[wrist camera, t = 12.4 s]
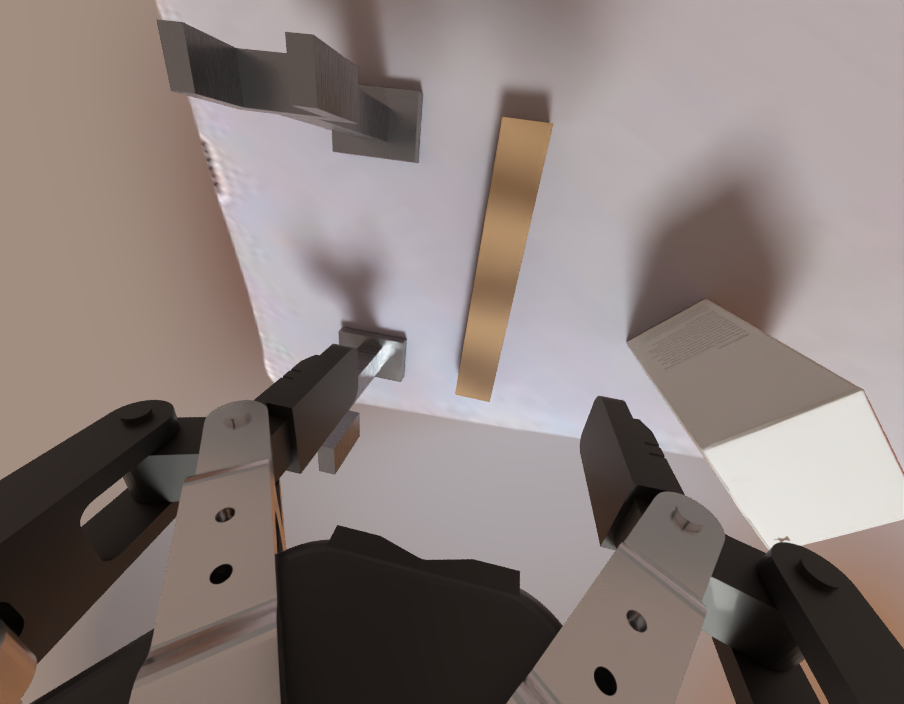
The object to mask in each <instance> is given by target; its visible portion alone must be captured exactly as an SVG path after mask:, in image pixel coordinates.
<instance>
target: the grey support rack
mask: <svg viewBox="0 0 904 704" xmlns="http://www.w3.org/2000/svg"><path fill="white" fill-rule="evenodd" d="M157 24H158V29H159V34H160V39H161V44H162V49H163V54H164V59H165V64H166V68H167V73H168V78H169V83H170V88H171V91H173V92H177V93H181V94H185V95H188V96H192V97H195V98H199V99H203V100H206V101H210V102H214V103H218V104H221V105H225V106H229V107H232V108H236V109H240V110H248V111H256V112H264V113H272V114H279V115H282V116H285V117H289V118H292V119H296V120H299V121H302V122H306V123H309V124H313V125H316V126H319V127H323V128H326V129H329V130H332V141H333V152H339V153H346V154H354V155H361V156H369V157H376V158H384V159H391V160H399V161H406V162H414V163H418V161H419V146H420V131H421V116H422V101H423V94H422V93H420V92H419V91H414V90H405V89H395V88H386V87H377V86H368V85H359V84H358V67H357V66H356V65H354V64H353V63H352V62H350V61H349V60H347V59H346V58H345V57H343V56H342V55H341V54H339V53H338V52H337V51H335V50H334V49H332V48H331V47H330V46H328V45H327V44H326V43H324V42H323V41H321V40H320V39H319V38H317V37H316V36H315V35H312V34H301V33H291V32H285V36H286V48H287V53H278V52H269V51H259V50H249V49H239V48H235V47H233V46H231V45H229V44H227V43H224V42H222V41H220V40H218V39H216V38H214V37H212V36H210V35H208V34H206V33H204V32H202V31H200V30H198V29H196V28H193V27H191V26H189V25H187V24H185V23H183V22H176V21H165V20H157ZM406 341H407V339H404V338H399V337H393V336H388V335H383V334H378V333H372V332H367V331H362V330H356V329H351V328H346V327H343V328H342V329H341V330H340V331H339V345H343V346H348V347H353V348H356V349H357V352H358V392H357V396H356V399H355V401H354V403H355V402H356V400H357V399H358V398H359V396H360V395H361V394H362V392H363V391H364V390H365V388H366V387H367V386H368V385H369V383H370V382H371V381H372V379H373V378H374V377H379V378H384V379H389V380H393V381H398V382H401V381H402V379H403V378H404V371H405V356H406ZM354 403H353V404H354ZM351 407H352V406H351ZM351 407H350V408H351ZM359 418H360V417H359V413H357V412H353V411H349V410H348V411H347V413H346V414H345V415H344V417H343V418H342V419H341V421H340V422H339V423H338V425H337V426H336V427H335V429H334V430H333V431H332V433H331V434H330V435H329V437H328V438H327V439H326V441H325V442H324V443H323V445H322V446H321V447H320V449H319V450H318V461H319V471H322V472H326V473H331V474H336V472H337V471H338V469H339V468H340V466H341V464H342V463H343V461H344V460H345V458H346V457H347V455H348V453H349V452H350V450H351V449H352V447H353V446H354V444H355V443H356V441H357V439H358V438H359V436H360V434H359V433H360V424H359V421H360V419H359Z"/></svg>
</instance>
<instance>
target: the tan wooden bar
mask: <svg viewBox="0 0 904 704" xmlns="http://www.w3.org/2000/svg"><path fill="white" fill-rule="evenodd" d="M552 127H553V123H545V122H538V121H531V120H523V119H516V118H508V117H502V122H501V128H500V134H499V140H498V146H497V152H496V158H495V163H494V169H493V175H492V181H491V187H490V193H489V199H488V205H487V210H486V216H485V222H484V228H483V234H482V240H481V246H480V252H479V257H478V263H477V269H476V275H475V281H474V287H473V293H472V298H471V304H470V310H469V316H468V322H467V328H466V334H465V340H464V345H463V351H462V357H461V363H460V369H459V375H458V381H457V387H456V392H455V394H456V395H460V396H465V397H469V398H474V399H478V400H483V401H487V402H490V398H491V393H492V389H493V385H494V380H495V376H496V372H497V367H498V363H499V358H500V354H501V350H502V345H503V341H504V337H505V332H506V328H507V324H508V319H509V315H510V310H511V306H512V302H513V297H514V293H515V289H516V284H517V280H518V275H519V271H520V267H521V262H522V258H523V254H524V249H525V245H526V240H527V236H528V232H529V227H530V223H531V219H532V214H533V210H534V206H535V201H536V197H537V192H538V188H539V184H540V179H541V175H542V171H543V166H544V162H545V157H546V153H547V149H548V144H549V140H550V136H551V131H552Z"/></svg>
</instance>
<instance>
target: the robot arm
mask: <svg viewBox="0 0 904 704" xmlns="http://www.w3.org/2000/svg"><path fill="white" fill-rule="evenodd" d="M357 392H358V352H357V349H356V348H353V347H348V346H343V345H338V344H332V345H331V346H330V347H329V348H328V349H326V350H325V351H324V352H323V353H322V354H321V355H320V356H319V355H314V356H312V357H309V358H307V359H305V360H302V361H301V362H299V363H298V364H297V365H296V366H295V367H293V368H292V369H291V371H289V372H287V373H286V374H285V375H284V376H283V378H280V379H279V380H278V381H276V382H275V383H274V384H273V385H272V386H270V387H269V388H268V389H267V390H266V391H264V392H263V393H262V394H261V395H260V396H258V397H257V398H256V399H255V400H254V401H252V400H243V401H235V402H231V403H228V404H225V405H223V406H221V407H218V408H217V409H215V410H214V411H212V412H211V413H210V414H209V415H208V416H207V417H189V418H188V417H185V418H177V416H176V413H175V410H174V407H173V405H172V404H170V403H169V402H166V401H161V400H146V401H140V402H136V403H132V404H129V405H126V406H123V407H121V408H119V409H116V410H114V411H113V412H111V413H109V414H108V415H106V416H105V417H103V418H101V419H100V420H98V421H96V422H95V423H93V424H91V425H90V426H88V427H86V428H85V429H83V430H82V431H80V432H78V433H77V434H75V435H73V436H72V437H70V438H68V439H67V440H65V441H64V442H62V443H60V444H59V445H57V446H55V447H54V448H52V449H51V450H49V451H47V452H46V453H44V454H42V455H41V456H39V457H37V458H36V459H34V460H32V461H31V462H29V463H28V464H26V465H24V466H23V467H21V468H19V469H18V470H16V471H14V472H13V473H11V474H10V475H8V476H6V477H5V478H3V479H1V480H0V704H22V700H21V698H22V697H23V695H24V693H25V692H26V690H27V689H28V687H29V685H30V683H31V682H32V679H33V677H34V674H35V671H36V666H37V664H38V663H39V662H40V661H41V659H42V658H43V657H44V656H45V655H46V654H47V653H48V652H49V651H50V650H51V649H52V648H53V646H55V644H57V642H58V641H59V640H60V639H61V638H62V637H63V636H64V635H65V634H66V633H67V632H68V631H69V630H70V629H71V628H72V627H73V625H74V624H75V623H76V622H77V621H78V620H79V619H80V618H81V617H82V616H83V615H84V614H85V613H86V612H87V611H88V610H89V608H90V607H91V606H92V605H93V604H94V603H95V602H96V601H97V600H98V599H99V598H100V597H101V596H102V595H103V594H104V593H105V591H107V589H108V588H109V587H110V586H111V585H112V584H113V583H114V582H115V581H116V580H117V579H118V578H119V577H120V576H121V575H122V573H124V571H125V570H126V569H127V568H128V567H129V566H130V565H131V564H132V563H133V562H134V561H135V560H136V559H137V558H138V557H139V556H140V554H141V553H142V552H143V551H144V550H145V549H146V548H147V547H148V546H149V545H150V544H151V543H152V542H153V541H154V540H155V539H156V538H157V536H158V535H159V534H160V533H161V532H162V531H163V530H164V529H165V528H166V527H167V526H168V525H169V524H170V522H172V521H173V519H174V518H175V517H176V516H177V517H176V522H175V527H174V532H173V537H172V542H171V547H170V552H169V557H168V563H167V567H166V573H165V578H164V583H163V588H162V593H161V598H160V603H159V608H158V613H157V618H156V623H155V628H154V629H152V630H151V631H149V632H147V633H146V634H144V635H143V636H141V637H139V638H138V639H136V640H134V641H132V642H131V643H129V644H128V645H126V646H124V647H123V648H121V649H119V650H118V651H116V652H114V653H113V654H111V655H110V656H108V657H106V658H105V659H103V660H101V661H100V662H98V663H96V664H95V665H93V666H91V667H90V668H88V669H87V670H85V671H83V672H81V673H80V674H78V675H77V676H75V677H73V678H71V679H70V680H68V681H67V682H65V683H63V684H62V685H60V686H58V687H57V688H56V689H53V690H52V691H50V692H48V693H47V694H45V695H43V696H42V697H40V698H38V699H37V700H35V701H34V702H32V703H30V704H675V701H676V698H677V696H678V693H679V690H680V687H681V684H682V681H683V679H684V675H685V673H686V670H687V667H688V665H689V662H690V659H691V656H692V653H693V650H694V648H695V645H696V642H697V639H698V636H699V633H700V631H701V630H702V631H704V632H706V633H707V634H709V635H711V636H712V639H713V642H714V645H715V647H716V650H717V653H718V655H719V658H720V661H721V663H722V666H723V669H724V672H725V675H726V677H727V680H728V683H729V686H730V688H731V691H732V694H733V696H734V699H735V702H736V704H820V702H819V700H818V698H817V696H816V694H815V692H814V690H813V688H812V686H811V684H810V683H809V681H808V679H807V677H806V675H805V673H804V671H803V669H802V668H801V666H800V664H799V663H800V662H802V661H803V660H804V659H805V660H806V662H807V663H808V665H809V667H810V669H811V671H812V673H813V674H814V676H815V678H816V680H817V682H818V684H819V685H820V687H821V689H822V691H823V693H824V695H825V696H826V699H827V700H828V703H829V704H904V649H903V647H902V646H901V645H900V644H899V642H898V641H897V640H896V638H895V637H894V636H893V634H892V633H891V632H890V631H889V629H888V628H887V627H886V625H885V624H884V623H883V622H882V620H881V619H880V618H879V616H878V615H877V614H876V612H875V611H874V610H873V608H872V607H871V606H870V605H869V603H868V602H867V601H866V599H865V598H864V597H863V595H862V594H861V593H860V592H859V590H858V589H857V588H856V586H855V585H854V584H853V583H852V582H851V581H850V580H849V579H848V578H847V577H846V575H845V574H843V573H842V572H841V571H840V570H839V569H838V568H836V567H835V566H834V565H833V564H831V563H830V562H829V561H827V560H826V559H824V558H823V557H821V556H819V555H818V554H816V553H814V552H812V551H810V550H809V549H806V548H804V547H802V546H799V545H796V544H793V543H788V542H779V543H776V544H774V545H773V546H772V548H771V549H770V550H769V551H768V552H767V553H764V552H762V551H760V550H758V549H756V548H753V547H751V546H749V545H747V544H745V543H742V542H740V541H738V540H736V539H734V538H732V537H729V536H728V535H726V534H725V533H724V530H723V528H722V526H721V524H720V523H719V521H718V520H717V518H716V517H715V516H714V515H713V514H712V513H711V512H710V511H709V510H708V509H706V508H705V507H704V506H703V505H701V504H700V503H698V502H697V501H695V500H693V499H691V498H689V497H687V496H685V494H684V492H683V491H682V489H681V487H680V485H679V483H678V481H677V479H676V477H675V475H674V473H673V471H672V469H671V467H670V465H669V464H668V461H667V460H666V459H665V458H664V454H663V452H662V450H661V448H659V444H658V442H657V440H656V438H655V436H654V434H653V433H652V431H651V430H650V429H649V428H648V427H647V426H645V425H644V424H643V423H642V422H641V421H640V420H639V419H634V418H633V417H632V415H631V413H630V411H629V409H628V407H627V405H626V403H625V401H623V400H618V399H613V398H608V397H603V396H598V397H597V398H596V399H595V401H594V403H593V406H592V409H591V411H590V414H589V416H588V419H587V422H586V424H585V427H584V429H583V432H582V435H581V440H580V454H581V458H582V463H583V467H584V472H585V477H586V482H587V486H588V491H589V496H590V500H591V505H592V509H593V514H594V519H595V523H596V528H597V532H598V537H599V542H600V546H601V547H604V548H608V549H612V550H616V551H615V552H614V554H613V555H612V557H611V558H610V560H609V561H608V562H607V564H606V565H605V567H604V568H603V570H602V571H601V572H600V574H599V575H598V577H597V578H596V579H595V581H594V582H593V584H592V585H591V587H590V588H589V589H588V591H587V592H586V594H585V595H584V597H583V598H582V600H581V601H580V602H579V604H578V605H577V607H576V608H575V609H574V611H573V613H572V614H571V615H570V617H569V618H568V619H567V621H566V622H565V624H564V625H562V624H561V623H560V622H559V620H558V619H557V618H556V617H555V616H554V615H553V614H552V613H551V612H550V611H549V610H548V609H547V608H546V607H545V606H544V605H543V604H542V603H541V602H539V601H538V600H537V599H535V598H534V597H533V596H531V595H530V594H529V593H527V592H526V591H524V590H522V589H520V571H517V570H513V569H509V568H505V567H501V566H497V565H493V564H489V563H486V562H482V561H477V560H474V559H470V560H469V559H467V560H466V559H465V560H464V559H461V560H424V559H421V558H418V557H417V556H415V555H413V554H411V553H409V552H408V551H406V550H404V549H402V548H401V547H399V546H397V545H395V544H393V543H392V542H390V541H388V540H386V539H385V538H383V537H381V536H378V535H374V534H370V533H367V532H362V531H358V530H354V529H350V528H347V527H343V526H339V525H337V527H336V529H335V531H334V533H333V534H332V536H331V538H330V540H320V541H313V542H308V543H305V544H301V545H298V546H295V547H292V548H289V549H287V548H286V540H285V530H284V519H283V508H282V497H281V485H280V479H279V478H280V477H281V476H282V474H283V473H284V472H285V471H286V470H287V471H291V472H295V473H299V474H301V473H302V471H303V470H304V469H305V467H306V466H307V465H308V463H309V462H310V461H311V459H312V458H313V457H314V455H315V454H316V453H317V451H318V450H319V449H320V447H321V446H322V445H323V443H324V442H325V441H326V439H327V438H328V437H329V435H330V434H331V433H332V431H333V430H334V429H335V427H336V426H337V425H338V423H339V422H340V421H341V419H342V418H343V417H344V415H345V414H346V413H347V411H348V410H349V409H350V407H351V406H352V405H353V403H354V401H355V399H356V396H357ZM122 477H123V479H124V480H125V483H126V485H127V487H128V488H127V489H126V490H125V491H123V492H122V493H121V494H120V495H119V496H118V497H116V498H115V499H114V500H113V501H112V502H111V503H109V504H108V505H107V506H106V507H104V508H103V509H102V510H101V511H100V512H99V513H97V514H96V515H95V516H94V517H93V518H91V519H90V520H89V521H88V522H87V523H86V524H84V525H83V526H82V527H81V526H80V519H81V516H82V514H83V512H84V510H85V509H86V508H87V506H88V505H89V504H90V503H91V502H92V501H93V500H94V499H95V498H97V497H98V496H99V495H100V494H102V493H103V492H104V491H106V490H107V489H108V488H109V487H110V486H112V485H113V484H114V483H116V482H117V481H118V480H119V479H121V478H122Z"/></svg>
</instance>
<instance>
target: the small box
mask: <svg viewBox="0 0 904 704" xmlns="http://www.w3.org/2000/svg"><path fill="white" fill-rule="evenodd" d="M627 345H628V347H629V348H630V350H631V352H632V353H633V355H634V356H635V358H636V359H637V361H638V362H639V364H640V365H641V367H642V368H643V370H644V371H645V373H646V374H647V376H648V377H649V379H650V380H651V382H652V383H653V385H654V386H655V388H656V389H657V390H658V392H659V393H660V395H661V396H662V398H663V399H664V401H665V402H666V404H667V405H668V406H669V408H670V409H671V411H672V412H673V414H674V415H675V417H676V418H677V419H678V421H679V422H680V424H681V425H682V427H683V428H684V430H685V431H686V433H687V434H688V435H689V437H690V438H691V440H692V441H693V443H694V444H695V445H696V447H697V448H698V450H699V451H700V453H701V454H702V456H703V457H704V458H705V460H706V461H707V463H708V464H709V466H710V467H711V468H712V470H713V471H714V473H715V474H716V476H717V477H718V479H719V480H720V481H721V483H722V484H723V486H724V487H725V489H726V490H727V492H728V493H729V494H730V496H731V498H732V499H733V500H734V502H735V504H736V505H737V507H738V508H739V510H740V511H741V513H742V514H743V516H744V517H745V518H746V519H747V520H748V522H749V523H750V525H751V526H752V528H753V529H754V530H755V532H756V533H757V535H758V536H759V537H760V539H761V540H762V542H763V543H764V544H765V546H766V547H767V548H768V550H770V549H771V548H772V546H773V545H774V544H776V543H779V542H788V543H793V544H796V545H799V546H801V545H805V544H809V543H813V542H817V541H821V540H825V539H829V538H833V537H837V536H841V535H845V534H849V533H853V532H856V531H861V530H864V529H868V528H872V527H876V526H880V525H884V524H888V523H891V522H895V521H899V520H902V519H904V472H903V470H902V467H901V466H900V464H899V462H898V460H897V457H896V455H895V453H894V451H893V449H892V447H891V445H890V443H889V440H888V438H887V436H886V434H885V432H884V431H883V429H882V426H881V424H880V422H879V420H878V418H877V416H876V414H875V412H874V410H873V408H872V406H871V404H870V402H869V400H868V398H867V396H866V394H865V391H864V389H862V388H859V387H857V386H855V385H854V384H852V383H850V382H849V381H847V380H845V379H844V378H842V377H840V376H838V375H836V374H835V373H833V372H831V371H830V370H828V369H826V368H825V367H823V366H821V365H820V364H818V363H816V362H814V361H813V360H811V359H809V358H808V357H806V356H804V355H802V354H801V353H799V352H797V351H795V350H794V349H792V348H790V347H789V346H787V345H785V344H783V343H782V342H780V341H778V340H777V339H775V338H773V337H771V336H770V335H768V334H766V333H765V332H763V331H761V330H760V329H758V328H756V327H754V326H753V325H751V324H749V323H748V322H746V321H744V320H742V319H741V318H739V317H737V316H735V315H734V314H732V313H731V312H729V311H727V310H725V309H724V308H722V307H720V306H719V305H717V304H715V303H714V302H712V301H710V300H708V299H704V300H702V301H700V302H698V303H697V304H695V305H693V306H691V307H689V308H688V309H686V310H684V311H682V312H680V313H678V314H677V315H675V316H673V317H671V318H669V319H668V320H666V321H664V322H662V323H660V324H658V325H656V326H655V327H653V328H651V329H649V330H647V331H645V332H644V333H642V334H640V335H638V336H637V337H635V338H633V339H631V340H629V341H628V342H627Z"/></svg>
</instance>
